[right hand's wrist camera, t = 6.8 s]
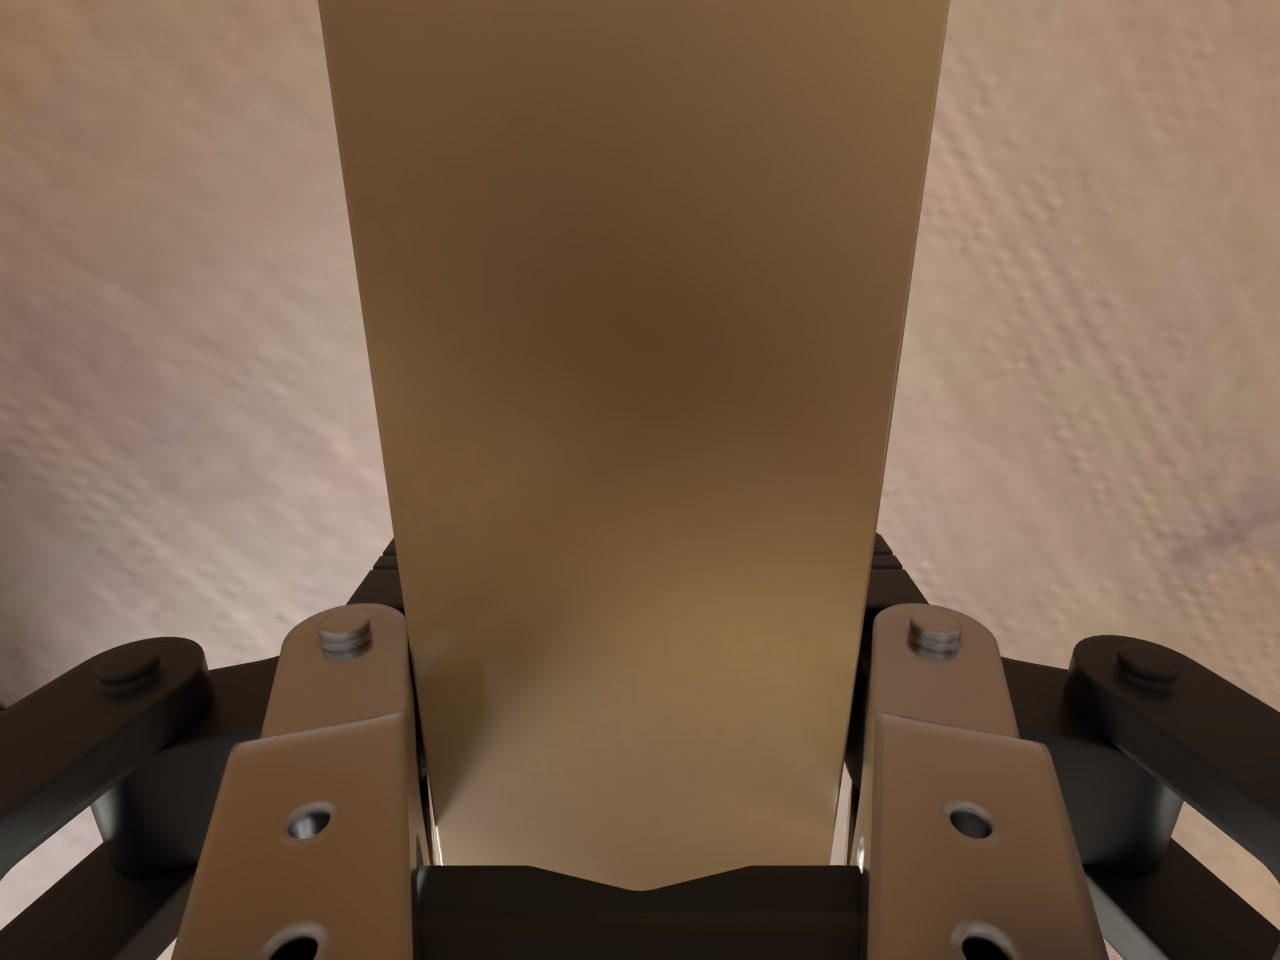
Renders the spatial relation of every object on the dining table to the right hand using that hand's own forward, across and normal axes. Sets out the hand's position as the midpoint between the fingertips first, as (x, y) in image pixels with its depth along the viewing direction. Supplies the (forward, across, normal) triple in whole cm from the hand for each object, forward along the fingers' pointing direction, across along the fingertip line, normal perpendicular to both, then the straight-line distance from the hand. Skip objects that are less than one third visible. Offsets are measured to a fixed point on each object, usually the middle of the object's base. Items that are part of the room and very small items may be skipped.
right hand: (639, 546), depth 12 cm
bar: (+2, 0, -23) cm, 23 cm away
